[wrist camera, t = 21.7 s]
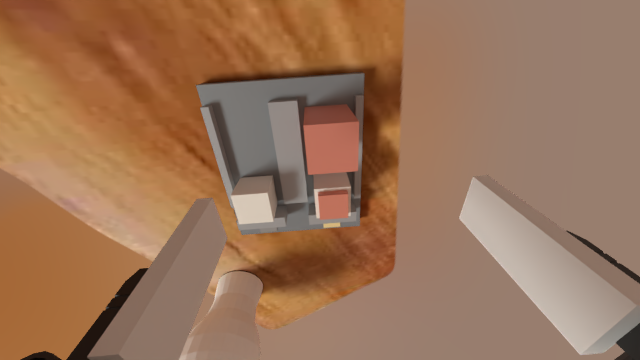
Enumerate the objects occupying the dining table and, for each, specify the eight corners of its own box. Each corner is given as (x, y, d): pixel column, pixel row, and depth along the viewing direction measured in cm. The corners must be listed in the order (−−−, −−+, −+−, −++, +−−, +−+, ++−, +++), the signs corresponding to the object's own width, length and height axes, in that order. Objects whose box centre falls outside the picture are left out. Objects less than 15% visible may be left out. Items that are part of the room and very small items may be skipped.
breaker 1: (240, 177, 28) (230, 195, 24) (272, 175, 28) (267, 192, 24) (247, 204, 30) (239, 224, 26) (277, 202, 30) (273, 221, 26)
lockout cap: (308, 146, 27) (308, 174, 20) (304, 107, 24) (303, 125, 18) (346, 143, 27) (358, 171, 21) (346, 104, 24) (359, 121, 18)
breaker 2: (313, 172, 28) (314, 193, 24) (345, 169, 28) (352, 190, 24) (315, 199, 30) (316, 222, 26) (345, 196, 30) (351, 220, 26)
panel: (202, 83, 24) (184, 88, 21) (361, 72, 24) (370, 75, 21) (244, 227, 34) (236, 247, 31) (357, 219, 34) (363, 238, 31)
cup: (269, 264, 38) (249, 375, 25) (272, 303, 43) (257, 412, 30) (204, 264, 37) (148, 378, 24) (215, 303, 43) (173, 415, 30)
